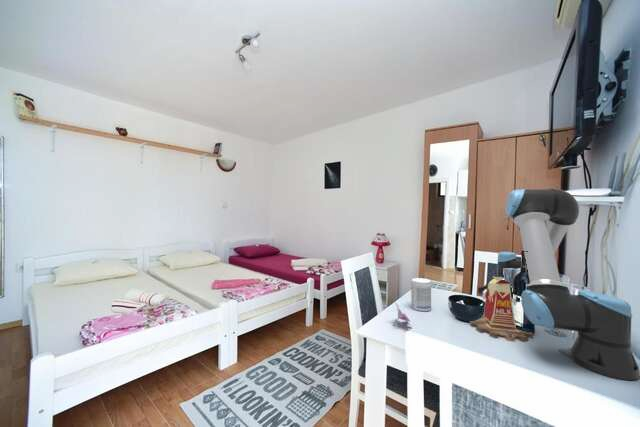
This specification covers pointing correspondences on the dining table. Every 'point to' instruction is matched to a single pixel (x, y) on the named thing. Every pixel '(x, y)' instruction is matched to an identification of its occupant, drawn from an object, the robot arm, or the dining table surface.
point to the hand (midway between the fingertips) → (498, 298)
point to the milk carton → (499, 304)
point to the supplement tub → (421, 294)
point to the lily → (402, 316)
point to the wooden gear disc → (500, 330)
